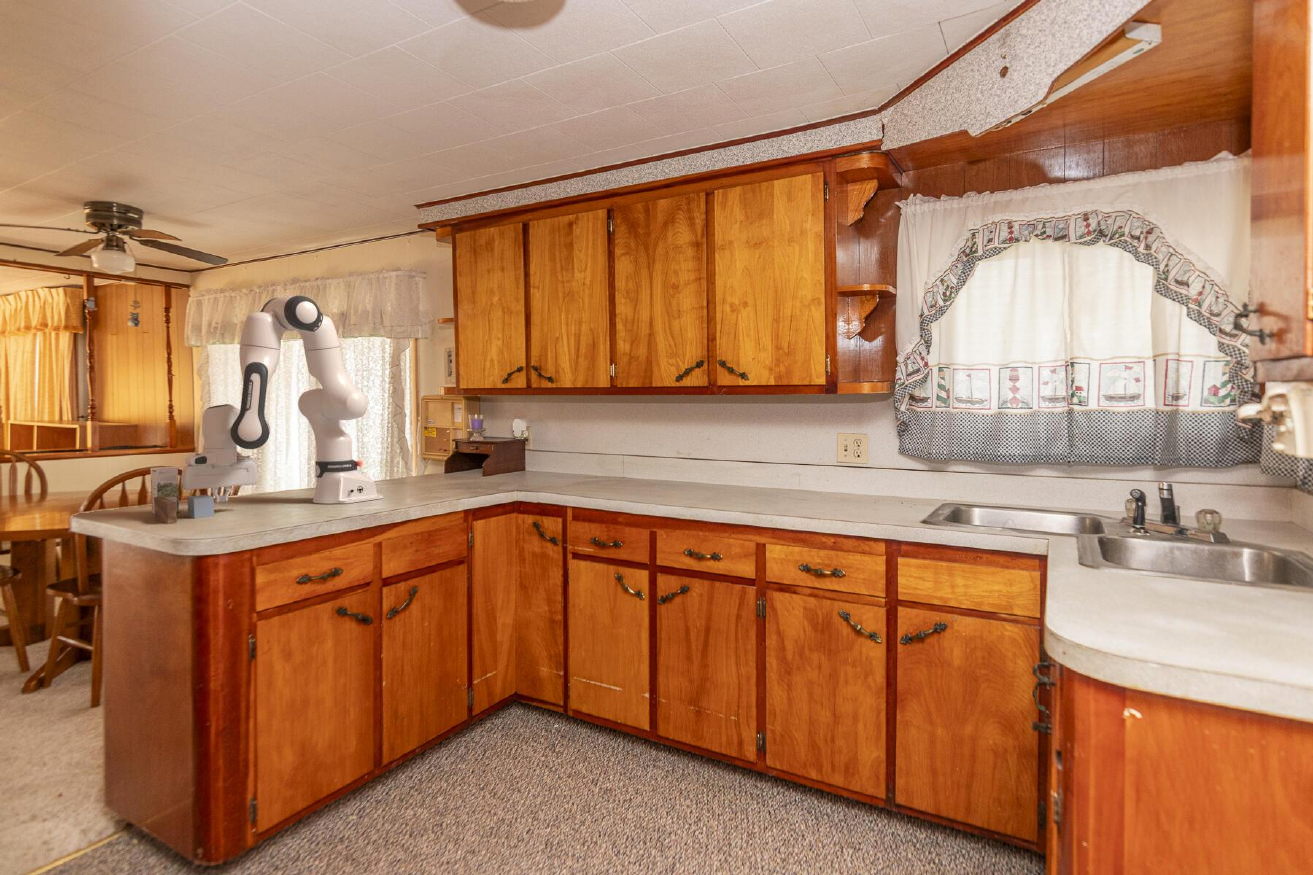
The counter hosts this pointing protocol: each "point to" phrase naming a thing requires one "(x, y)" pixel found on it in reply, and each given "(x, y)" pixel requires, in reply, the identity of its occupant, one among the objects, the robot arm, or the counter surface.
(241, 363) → the robot arm
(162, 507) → the walnut board
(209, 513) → the blue block
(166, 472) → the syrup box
